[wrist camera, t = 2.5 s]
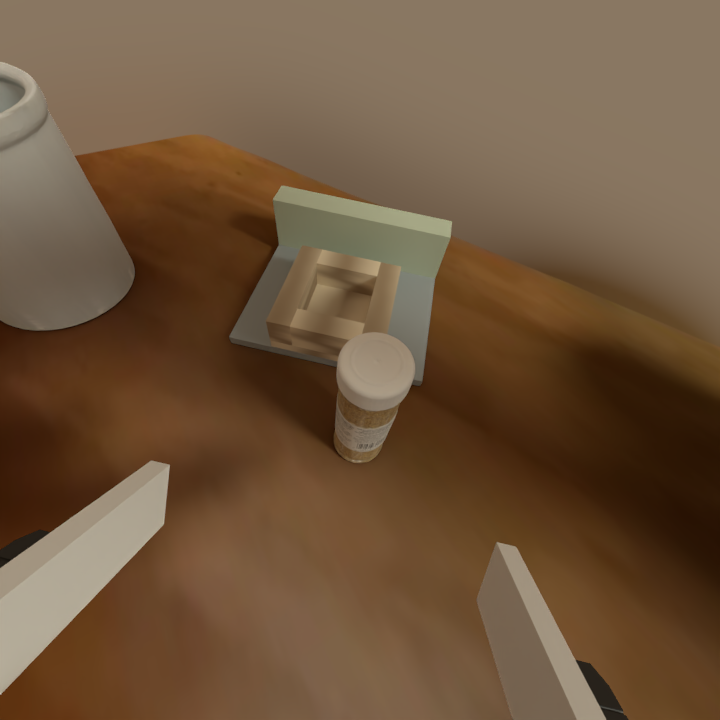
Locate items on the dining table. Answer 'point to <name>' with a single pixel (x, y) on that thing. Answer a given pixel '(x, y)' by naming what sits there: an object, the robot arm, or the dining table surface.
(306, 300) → the socket block
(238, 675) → the dining table surface
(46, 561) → the robot arm
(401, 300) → the backstop board
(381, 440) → the sprinkles bottle
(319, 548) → the dining table surface
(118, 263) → the utensil holder
